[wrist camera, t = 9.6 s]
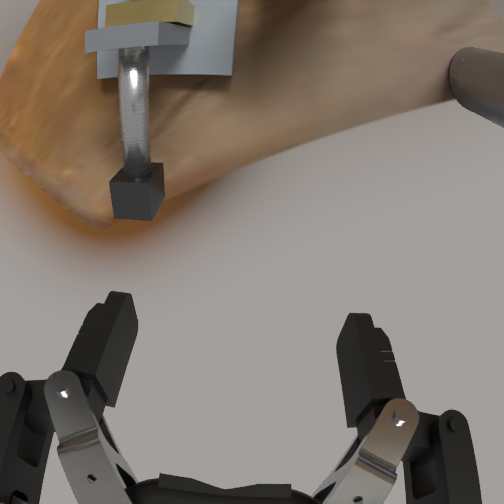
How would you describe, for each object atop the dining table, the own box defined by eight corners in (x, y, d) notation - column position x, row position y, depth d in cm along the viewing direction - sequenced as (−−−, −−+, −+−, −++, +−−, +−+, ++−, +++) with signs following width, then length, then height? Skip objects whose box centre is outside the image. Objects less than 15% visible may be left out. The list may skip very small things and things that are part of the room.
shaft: (164, 38, 23) (146, 37, 19) (164, 196, 34) (151, 220, 30) (124, 41, 23) (101, 42, 19) (131, 195, 33) (114, 218, 29)
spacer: (194, 5, 25) (178, -4, 20) (193, 25, 27) (176, 21, 21) (133, 9, 25) (106, 5, 20) (132, 29, 27) (104, 28, 21)
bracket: (243, -35, 24) (233, -74, 13) (232, 74, 32) (217, 87, 22) (109, -24, 23) (47, -41, 13) (104, 76, 32) (43, 98, 21)
